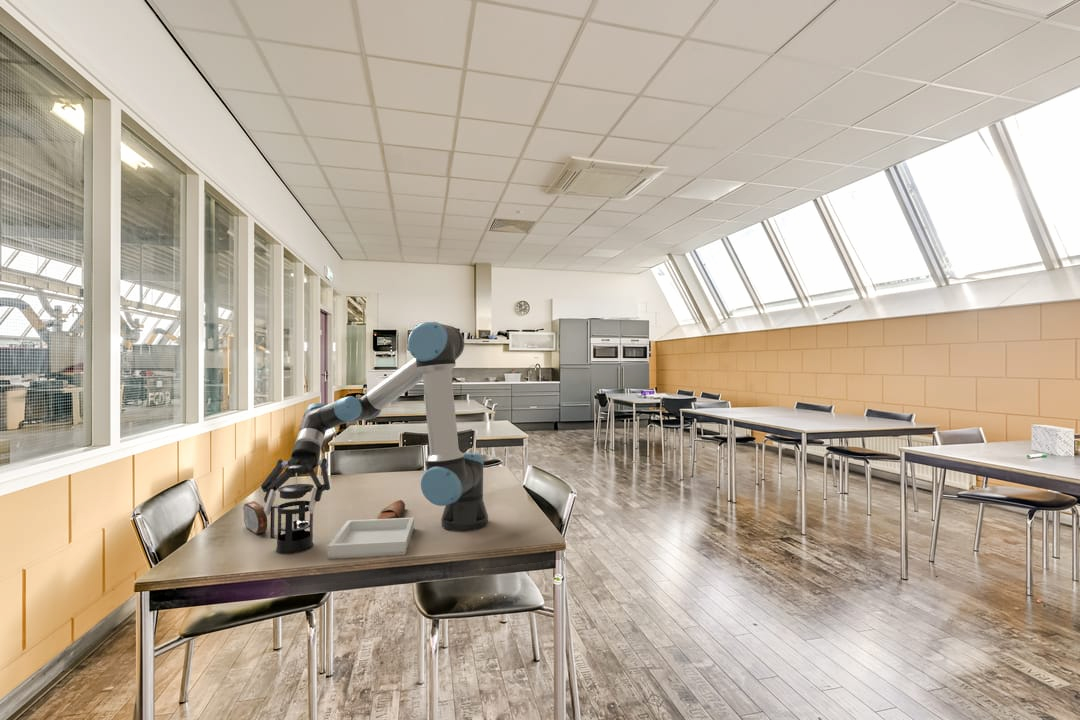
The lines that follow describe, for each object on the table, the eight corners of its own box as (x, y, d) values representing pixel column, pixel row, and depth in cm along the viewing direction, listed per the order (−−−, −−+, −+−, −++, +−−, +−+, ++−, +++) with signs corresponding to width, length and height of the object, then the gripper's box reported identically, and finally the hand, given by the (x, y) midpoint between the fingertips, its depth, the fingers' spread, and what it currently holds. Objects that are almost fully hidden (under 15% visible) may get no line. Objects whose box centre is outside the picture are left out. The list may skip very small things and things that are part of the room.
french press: (320, 541, 140) (322, 462, 140) (308, 553, 130) (309, 468, 131) (278, 542, 139) (280, 462, 139) (263, 554, 129) (264, 469, 130)
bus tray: (413, 528, 151) (413, 517, 151) (405, 554, 130) (405, 541, 130) (347, 531, 148) (347, 520, 148) (327, 559, 126) (327, 545, 126)
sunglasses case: (380, 509, 172) (390, 493, 173) (397, 519, 173) (407, 502, 174) (372, 525, 154) (383, 507, 155) (391, 535, 155) (403, 517, 156)
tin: (268, 535, 145) (268, 507, 146) (256, 537, 143) (257, 509, 143) (252, 524, 156) (252, 498, 156) (241, 526, 153) (241, 500, 154)
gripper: (349, 453, 152) (335, 517, 136) (270, 454, 148) (247, 520, 133) (345, 438, 147) (330, 503, 131) (264, 440, 143) (238, 506, 127)
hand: (288, 512), depth 132 cm, fingers closed on french press, 11 cm apart
